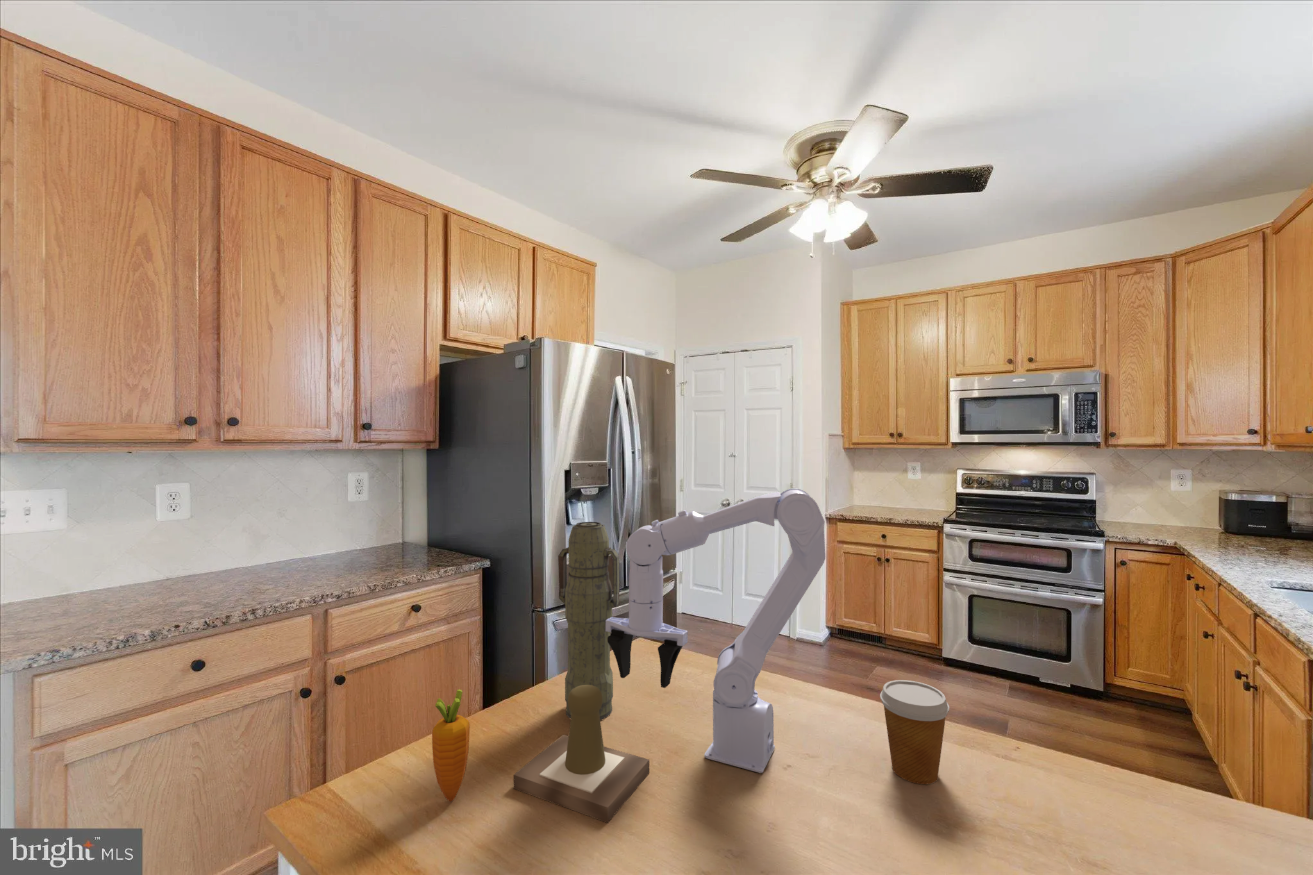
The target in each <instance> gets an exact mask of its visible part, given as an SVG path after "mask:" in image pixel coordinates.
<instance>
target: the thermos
mask: <svg viewBox="0 0 1313 875" xmlns="http://www.w3.org/2000/svg"><path fill="white" fill-rule="evenodd" d="M610 556H611V558H612V563H613V564H612V565H613V566H612V569H613V570H612V571H613V572H612V576H613V578H612V579H613V580H612V582H611V580H610V571H609V566H610ZM567 557H568V558H567ZM567 560H568V562H567ZM557 561H558V562H557V563H558V588H559V589H558V591H559V592H558V599H559V600H560V601H561V603H563V605H564V606H565V607H564V611H565V612H564V613H565V614H564V616H565V620H566V622H567V671H566V675H565V678H564V696H565V697H564V699H565V702H566V707H565V715H566V716H567V718H569V719H570V720H571V712H570V710H569V707H568V696H569V693H570V692H571V690H572V689H574V688H576V687H578V686H581V685H592V686H595V687H597V688H599V690H600V691H601V693H602V706H601V708H600V710H599V715H600V721H601V720H605V719H606V718H608V717H609V716H610V715H611V714H612V712H613V704H612V702H613V701H612V700H613V697H614V676H613V674H614V673H613V671H612V668H611V657H610V656H611V646H610V645H609V643H608V641H607V638H608V636H610V635H611V632H607V631H606V620H607V619H609V618H611V617H613V607H618V605H619V601H620V555H619V554H618V552H617V551H616V548H614V549H613V548H612V547H610V539H609V536H608V532H607V530H606V526H605V524H602V523H601V522H597V521H581V522H577V523H576V524H573V525H572V527H571V531H570V534H569V536H568V547H565V548H562V550H561V551H560V553H559V554H558V560H557ZM567 566H568V567H569V572H567V570H568V568H567ZM567 573H568V574H567ZM567 578H568V579H567ZM612 584H613V585H612ZM612 586H613V587H612Z"/></svg>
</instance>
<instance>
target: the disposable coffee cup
mask: <svg viewBox="0 0 1313 875" xmlns="http://www.w3.org/2000/svg"><path fill="white" fill-rule="evenodd" d="M879 698H880V700H881V702H882V703H881V704H882V706H883V711H884V718H885V726H886V733H887V739H888V740H887V741H888V746H889V753H890V762H891V768H892V771H893V772H894V773H895V775H897V776H898V777H900V778H901V779H902V780H905V781H907V782H909V783H913V784H919V785H931V784H934V783H936V782H937V781H938V779H939V770H940V762H941V756H942V748H943V741H944V731H945V725H946V717H947V715H948V713H949V712H950V705H949V703H948V702H947V699H946V696H945V694H944V693H943V692H942V691H941V690H939V689H938V688H936V687H934V686H932V685H929V684H926V683H923V682H919V681H916V680H915V681H914V680H910V679H909V680H905V679H896V680H895V679H894V680H891V681H887V682H886V683H884V685H883V687H882V691H881V692H880V694H879Z"/></svg>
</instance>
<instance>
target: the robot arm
mask: <svg viewBox="0 0 1313 875" xmlns="http://www.w3.org/2000/svg"><path fill="white" fill-rule="evenodd" d="M677 514H678V515H677V516H674V517H671V518H668V519H667V518H666V519H665V520H662V521H659V519H655V520H653V521H652V522H651V525H649V524H647V525H644V526H641V527H639V528H638V529H636V530H635V531H634V532H633V533H631V534H630V536H629V537H628V538H627V541H626V544H625V545H626V546H625V547H626V548H625V550H626V554H627V556H628V558H629V572H628V617H627V618H626V617H625V618H624V617H615V616H614V617H613V616H612V617H611V618H609V619H607V620H606V631H607V632H610V636H608V638H607V641H608V643H609V645H610V649H612V652H613V654H614V657H615V660H616V663H617V667H618V672H619V677H620V678H621V679H625V678H626V677H628V676H629V675H630V674H631V658H632V657H631V652H632V646H633V645H632V643H633V638H634V636H637V637H642V638H646V639H651V640H657V641H661V642H664V643H662V644H660V645H658V647H657V652H658V656H659V664H660V680H659V681H660V688H663V689H666V688H667V687H668V686H669V685H670V684H671V679H672V675H673V671H674V667H675V665H676V664H675V663H676V661H677V659H678V656H679V655H680V652H681V651H682V648H683V647H684V646H685V645H686V644H688V640H689V639H688V638H689V637H688V636H689V635H688V633H689V632H688V630H686V629H681V628H679V627H678V628H677V627H675V626H672V625H671V624H667V623H664V620H663V618H664V616H663V615H664V614H663V613H664V609H663V608H664V605H663V604H664V570H663V556H672V555H675V554H678V553H682V552H685V551H688V550H690V549H693V548H694V549H695V548H697V547H700V546H703V545H705V544H706V542H707V540H708V537H709V536H710V535H712V534H715V533H718V532H722V531H725V530H729V529H732V528H735V527H736V528H737V527H740V526H743V525H747V524H750V523H754V522H758V523H760V524H765V525H768V526H770V527H771V526H772V527H775V520H777V521H778V523H779V524H780V526H781V528H782V529H783V531H784V533H785V534H786V535H787V537H788V540H789V545H790V548H791V553H790V555H789V557H788V559H787V560H786V562H785V564H784V565H783V567H782V568H781V570H780V571H779V573H778V575H777V576H776V578H775V579H774V580H773V583H772V584H771V586H770V587H769V589H768V590H767V592H766V594H765V596H764V597H763V599H762V600H761V602H760V603H759V605H758V607H757V608H756V610H755V612H754V613H753V615H752V617H750V620H749V621H748V623H747V625H746V626H745V628H744V629H743V631H742V632H741V633H740V634H738V635H737V636H736V638H735V640H734V641H733V642H732V643H731V644H730V645H728V646H726V647H725V648H723V649H722V650H721V651H720V653H719V654H718V657H717V663H716V664H717V668H716V674H715V675H714V678H713V691H712V742H711V744H710V745H709V746H708V748H707V749H706V751H705V752H704V756H703V757H704V758H705V759H708V760H711V761H716V762H718V763H719V762H720V763H723V764H726V765H729V766H734V767H738V768H740V769H741V768H742V769H745V770H748V771H752V772H756V773H759V774H762V773H764V771H765V768H766V767H767V765H768V763H769V761H770V759H771V757H772V754H773V752H774V751H775V749H776V748H775V746H776V745H775V742H774V738H775V736H774V733H775V731H774V729H775V728H774V720H775V719H774V707H773V706H774V705H773V704H772V703H771V702H768V701H766V700H763V699H762V698H761V697H759V695H758V693H759V692H758V691H757V690H756V689H755V686H756V680H757V679H758V676H759V675H760V673H761V671H762V668H763V665H764V662H765V660H766V656H767V654H768V653H769V651H770V650H771V649H772V646H773V644H774V643H775V641H776V640H777V638H778V637H779V635H780V633H781V632H782V631H783V630H784V627H785V626H786V624H787V623H788V620H789V619H790V618H791V616H792V615H793V613H794V611H795V610H796V608H797V607H798V605H799V603H800V602H801V600H802V599H803V597H804V595H805V594H806V592H807V591H808V589H809V587H810V586H811V584H812V582H813V580H815V578H816V576H817V574H818V573H819V571H820V570H821V568H822V566H823V565H824V563H825V561H826V542H825V540H826V539H825V523H826V522H825V519H824V516H823V514H822V512H821V510H820V507H819V505H818V503H817V502H816V500H815V499H814V498H813V497H812V496H811V495H810V494H809V493H808V492H807V491H805V490H804V489H801V488H796V487H795V488H794V487H792V488H788V489H785V490H784V491H783V490H782V492H781V493H780V491H774V492H769V493H765V494H761V495H757V496H755V497H752V498H748V499H746V500H743V501H740V502H737V503H736V504H733V505H729V506H727V507H724V508H721V509H718V510H716V511H713V512H709V513H708V514H706V515H703V514H700V513H698V512H697V511H694V510H691V511H688V510H687V509H683V510H680V511H679V512H677ZM662 555H663V556H662Z"/></svg>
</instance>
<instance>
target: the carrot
mask: <svg viewBox="0 0 1313 875" xmlns="http://www.w3.org/2000/svg"><path fill="white" fill-rule="evenodd" d="M462 697H463V690H462V689H457V690H456V693H455V698H454V700H453V702H452V703H451V704H447V705H445V702H444V701H443V700H442V699H441V697H440V698H438V699H437V700H436V702H435V708H436V709H437V710H438V712H439V713H440V715H441V716H442V718H440V719H438V720H437V722H436V723H435V725H434V726H433V729H432V732H431V743H432V744H431V745H432V746H431V747H432V749H431V751H432V761H433V762H432V764H433V767H434V768H433V769H434V773H435V776H436V777H435V778H436V781H437V782H436V783H437V785H438V787H439V789H440V791H441V793H442V795H443V796H444V798H445V799H446V800H447V801H448V802H453V801H454V800H455V799H456V798H457V797H456V796H457V795H458V793H459V791H460V789H461V786H462V782H463V779H464V777H465V773H466V769H467V764H468V758H469V753H470V752H469V749H470V731H471V730H470V728H471V727H470V726H471V725H470V720H468V719H467V718H466V717H464V716H463V715H461V714H458V712H459V711H458V710H459V708H460V706H461V700H462Z"/></svg>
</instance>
